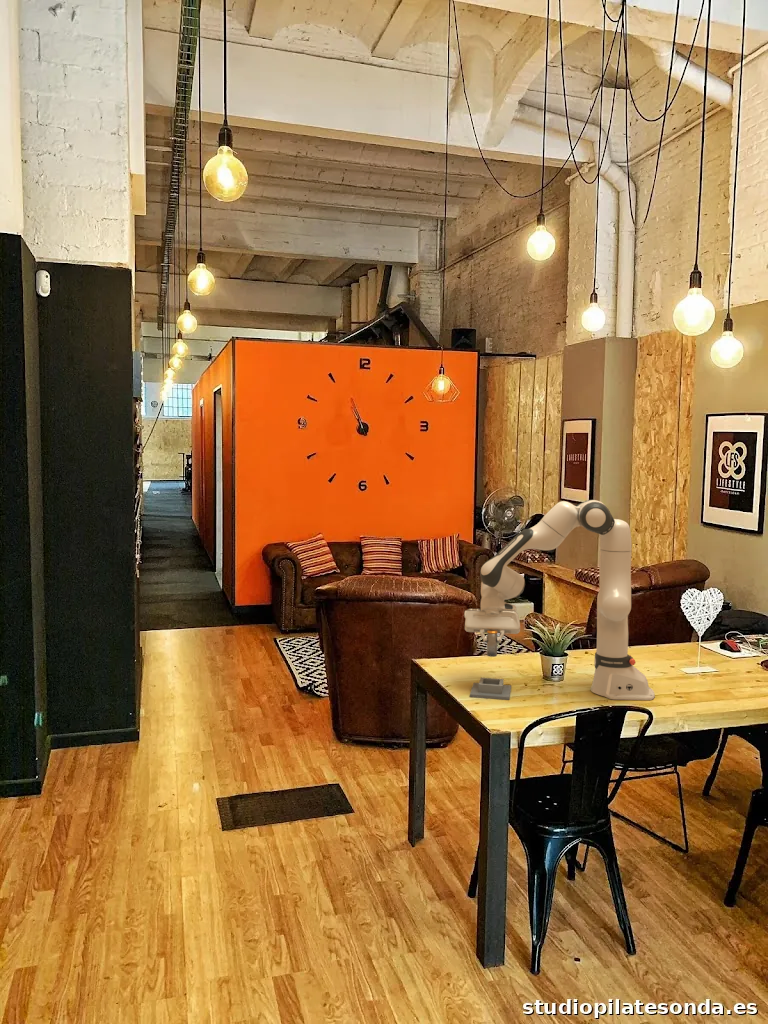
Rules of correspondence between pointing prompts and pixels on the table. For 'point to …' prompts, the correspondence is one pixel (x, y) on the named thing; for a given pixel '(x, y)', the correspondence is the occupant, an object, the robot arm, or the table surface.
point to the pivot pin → (492, 643)
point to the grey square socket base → (491, 689)
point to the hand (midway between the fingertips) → (492, 641)
